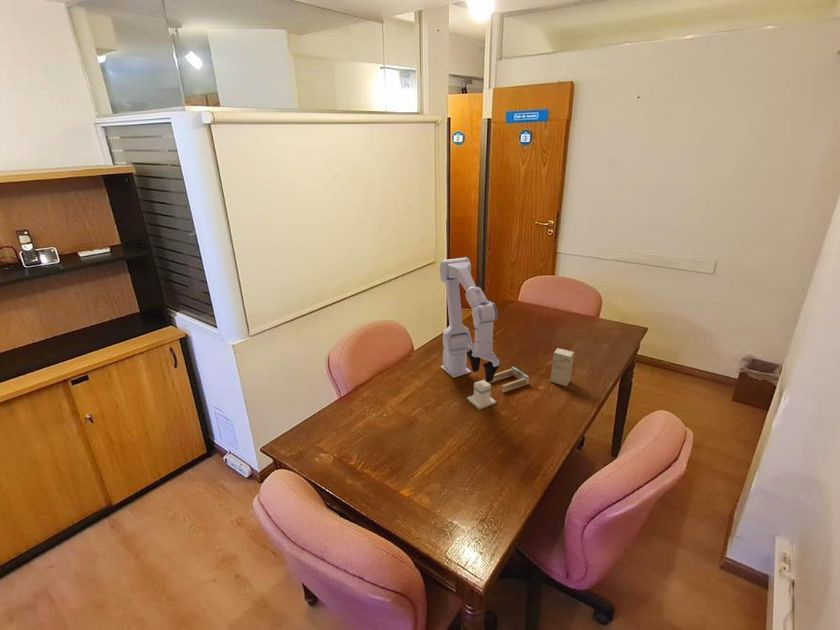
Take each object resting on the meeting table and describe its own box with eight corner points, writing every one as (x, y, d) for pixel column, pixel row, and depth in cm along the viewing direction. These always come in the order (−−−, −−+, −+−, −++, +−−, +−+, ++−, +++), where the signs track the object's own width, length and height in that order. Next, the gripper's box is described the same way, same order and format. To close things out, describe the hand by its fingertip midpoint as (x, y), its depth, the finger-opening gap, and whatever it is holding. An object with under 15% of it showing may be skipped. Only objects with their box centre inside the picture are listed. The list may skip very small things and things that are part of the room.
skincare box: (549, 381, 161) (552, 352, 156) (553, 376, 165) (556, 347, 160) (567, 386, 158) (570, 356, 153) (570, 381, 161) (574, 351, 157)
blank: (473, 397, 152) (473, 382, 149) (483, 394, 153) (483, 379, 151) (480, 403, 148) (481, 388, 146) (490, 400, 150) (491, 385, 148)
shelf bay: (488, 381, 162) (488, 374, 161) (513, 373, 167) (513, 366, 166) (503, 392, 155) (503, 385, 154) (528, 383, 160) (528, 376, 159)
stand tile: (467, 399, 152) (467, 397, 152) (483, 393, 155) (483, 391, 155) (479, 409, 147) (479, 407, 146) (496, 403, 150) (496, 401, 149)
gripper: (460, 333, 146) (460, 369, 151) (487, 351, 134) (485, 389, 140) (478, 329, 149) (477, 364, 154) (505, 345, 137) (503, 383, 143)
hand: (482, 376), depth 147 cm, fingers open, 7 cm apart
